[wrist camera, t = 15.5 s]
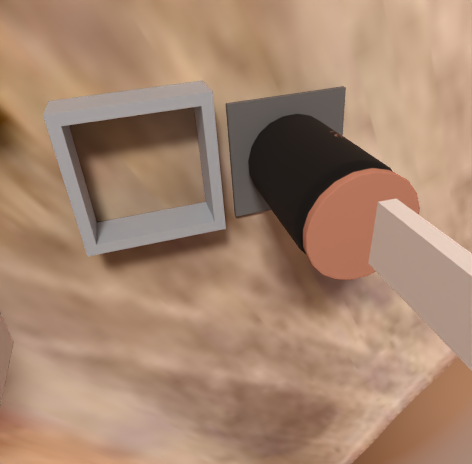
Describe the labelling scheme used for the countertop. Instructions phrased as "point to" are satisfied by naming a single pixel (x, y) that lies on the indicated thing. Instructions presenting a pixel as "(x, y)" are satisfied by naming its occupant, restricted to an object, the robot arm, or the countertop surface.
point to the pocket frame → (154, 223)
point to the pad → (257, 118)
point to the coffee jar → (324, 191)
